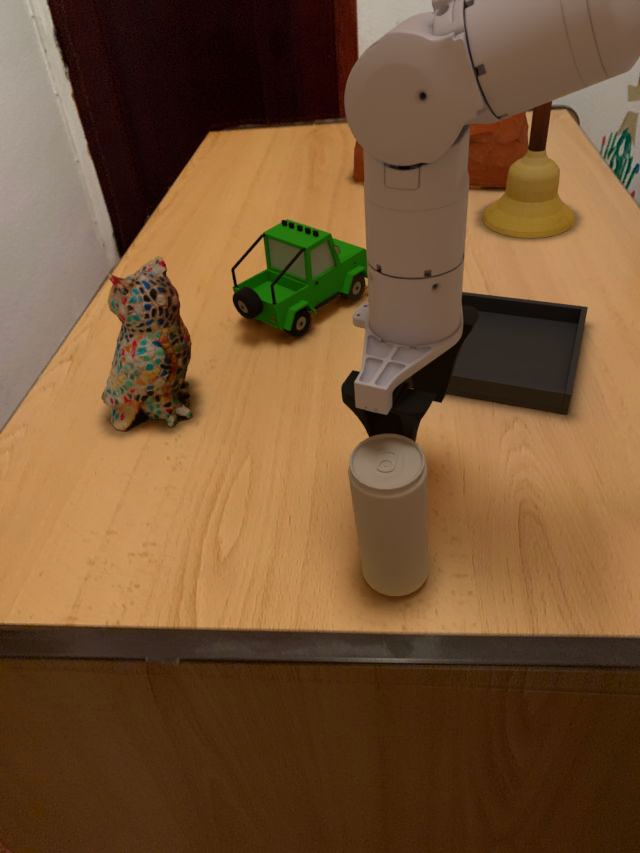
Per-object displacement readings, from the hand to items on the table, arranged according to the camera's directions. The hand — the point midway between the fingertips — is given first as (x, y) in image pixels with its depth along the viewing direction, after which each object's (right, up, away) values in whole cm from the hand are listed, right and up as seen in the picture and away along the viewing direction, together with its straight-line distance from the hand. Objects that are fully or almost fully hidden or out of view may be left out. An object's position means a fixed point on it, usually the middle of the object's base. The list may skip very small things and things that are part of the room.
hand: (412, 428), depth 48 cm
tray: (+11, +7, +19) cm, 23 cm away
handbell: (+22, +29, +42) cm, 56 cm away
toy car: (-9, +14, +29) cm, 33 cm away
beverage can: (-1, -10, 0) cm, 11 cm away
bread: (+13, +41, +58) cm, 72 cm away
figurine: (-23, +2, +18) cm, 29 cm away
